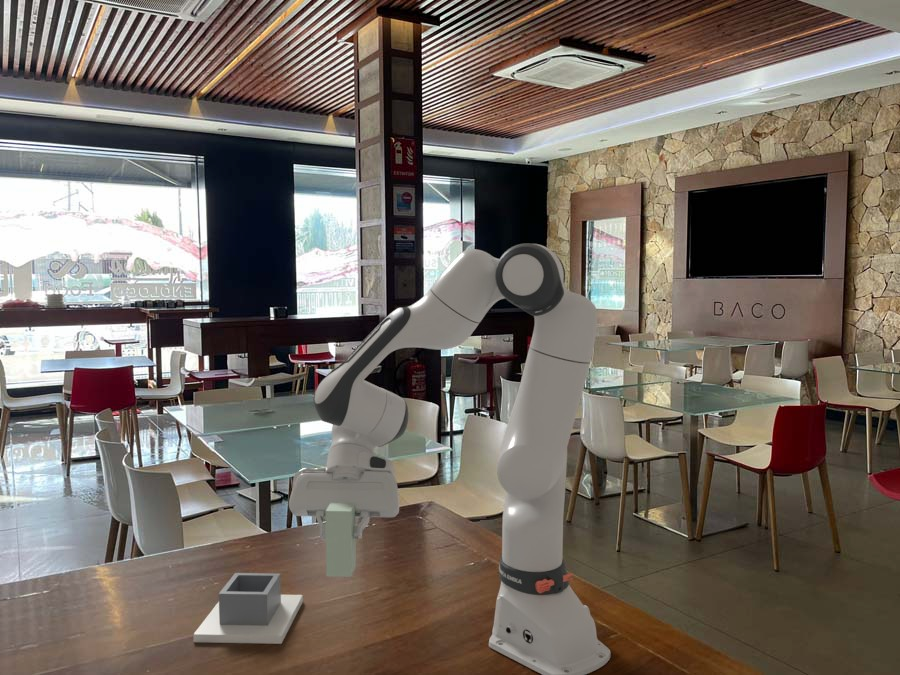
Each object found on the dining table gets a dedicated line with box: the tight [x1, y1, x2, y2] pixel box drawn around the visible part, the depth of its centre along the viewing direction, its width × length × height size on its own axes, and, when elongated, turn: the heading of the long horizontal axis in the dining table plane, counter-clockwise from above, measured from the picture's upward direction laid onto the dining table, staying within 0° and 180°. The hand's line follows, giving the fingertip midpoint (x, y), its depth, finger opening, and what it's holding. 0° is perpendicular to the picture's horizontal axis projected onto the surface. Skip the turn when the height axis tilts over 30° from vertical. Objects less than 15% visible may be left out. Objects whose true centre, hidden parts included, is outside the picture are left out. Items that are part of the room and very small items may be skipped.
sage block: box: [325, 503, 357, 578], centre depth 124 cm, size 4×4×12 cm
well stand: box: [192, 572, 304, 645], centre depth 132 cm, size 16×16×8 cm
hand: (340, 537), depth 123 cm, fingers closed on sage block, 4 cm apart
